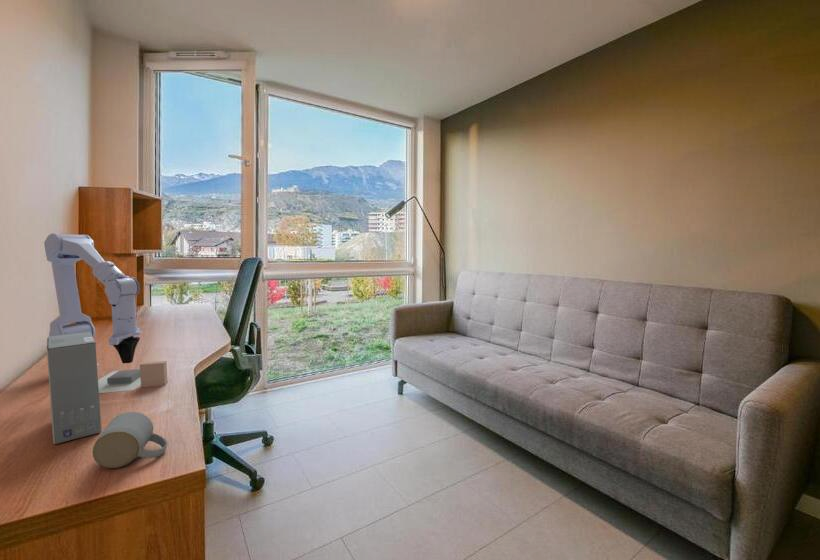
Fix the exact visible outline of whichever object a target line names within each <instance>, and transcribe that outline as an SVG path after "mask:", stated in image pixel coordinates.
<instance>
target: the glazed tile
mask: <svg viewBox="0 0 820 560" xmlns="http://www.w3.org/2000/svg"><path fill="white" fill-rule="evenodd" d="M117 371H118V372H117V373H115V374H113V375H112V376H110V377H109V378H107V383H108V384H109V385H113V384H125V383H132V382H133V381H135V380H136V379H137V378H139V377H140V368H138V369H123V370H117Z"/></svg>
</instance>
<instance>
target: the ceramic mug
mask: <svg viewBox="0 0 820 560" xmlns="http://www.w3.org/2000/svg"><path fill="white" fill-rule="evenodd" d="M149 442H153V443H155V444H157V445H159V446H161V448H159V449H157V450H153V449H151V450H150V449H145V446H146V445H147V444H148V443H149ZM167 447H168V440H166V438H164V437H163V436H161V435H159V434H157V433H154V423H153V421H151V418H150V417H148V416H147V415H146V414H144V413H141V412H138V411H127V412H123V413H120V414H118V415H116V416H114V417H113V418H112V419H111V421H109V422H108V424H107V425H106V427H105V428H104V429H103V431H101V434H100V435H99V436H98V437H97V439H96V441H95V442H94V445H93V448H92V457H93V461H95V462H96V463H97V464H98V465H99V466H101V467H103V468H106V469H118V468H121V467H125V466H127V465H129V464H130V463H131V462H133V461H134V460H135V459H136V458H137V457H138V458H139V457H140V458H143V459H154V458H155V459H156V458H158V457H160V456H162V455H163V454H164V453H165V451H166V449H167Z"/></svg>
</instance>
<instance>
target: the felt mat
mask: <svg viewBox="0 0 820 560" xmlns="http://www.w3.org/2000/svg"><path fill="white" fill-rule="evenodd" d="M118 371H119V370H112V371H111V372H109V373H107V374H106V375H104V376H102V377H101V378H98V387H99V394H104V393H106V394H107V393H118V392H128V391H129V392H130V391H135V390H136V389H137V388H138V387H141V379H140V377H139V378H137V379H136V380H135V381H133V382H132V383H125V384H113V385H109V384H108V383H107V378H109V377H110V376H112V375H113V374H115V373H117V372H118Z"/></svg>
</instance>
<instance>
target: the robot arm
mask: <svg viewBox="0 0 820 560" xmlns="http://www.w3.org/2000/svg"><path fill="white" fill-rule="evenodd" d="M43 245H44V251H45V257H46V261H48V262H50V263H51V268H52V274H53V281H54V288H55V292H56V300H57V306H58V312H59V315H58V316H57V317H56V318H55V319H53V320H52V321H51V322H50V323H49V333H48V337H50V336H59V335H67V334H76V333H85V332H90V333H91V335H92V337H93V339H94V338H95V335H96V328H95V326H94V324H93V322H92V318H91V316H88V315H87V314H84V313H82V307H81V300H80V294H79V289H78V281H77V276H76V269H75V264H76V263H77V262H79V261H81V260H82V261H83V262H85V263H86V264H88V266H90V267H91V268H92V272H91V273H92V274H93V276H94V277H95V278H96V279H97V280H98V281H99V282H100V283H101V284H102V285H103V286H104V293H105V295H106V296H107V299H108V303H109V304H110V305H111V320H112V322H111V323H112V334H111V336H110V337H109V338H108V346H113V347H114V349H115V350H116V351H117V353H118V355H119V358H120V360H121V362H122V364H131V363H133V361H134V356H135V352H136V348H137V345H138V344H139V341H140V340H141V339H140V337H139V335H142V334H143V332H142V330H141V327H138V322H137V308H136V307H137V306H136V296H137V295H138V294H139V292H140V283H139V281H138V280H137V279H136V278H135V277H134V276H129V275H125V274H124V272H122V271H121V270H120V269H119V268H118V267H117V266H116V265H115V263H114V262H113V261H105V259H104V258H103V257H102V256H101V254H99V251H97V249H96V248H95V241H94V240H93V239H92V237H91V236H89V235H88V234H70V233H67V234H66V233H65V234H63V233H50V234H48V235H47V237H46V239H45V240H44V241H43ZM99 366H100V363H97V367H99Z"/></svg>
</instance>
